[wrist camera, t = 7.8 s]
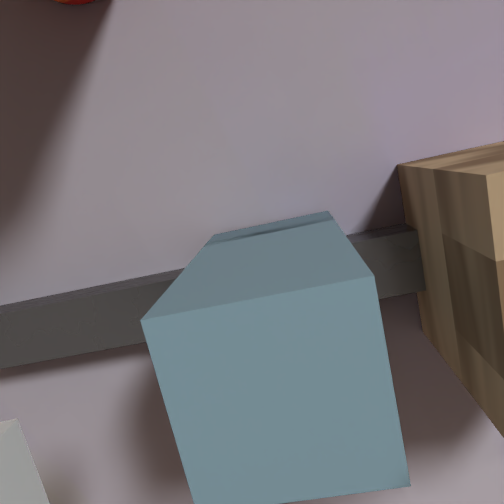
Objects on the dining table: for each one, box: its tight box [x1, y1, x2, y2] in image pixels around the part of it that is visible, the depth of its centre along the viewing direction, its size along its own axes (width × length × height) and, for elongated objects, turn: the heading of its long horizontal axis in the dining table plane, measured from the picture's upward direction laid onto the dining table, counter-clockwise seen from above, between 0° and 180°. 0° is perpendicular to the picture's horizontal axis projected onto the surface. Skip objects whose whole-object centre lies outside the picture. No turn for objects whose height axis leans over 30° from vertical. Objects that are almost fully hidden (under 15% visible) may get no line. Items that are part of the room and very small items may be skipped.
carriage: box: [140, 211, 411, 504], centre depth 17 cm, size 6×6×12 cm
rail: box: [0, 223, 426, 369], centre depth 23 cm, size 24×3×2 cm, turn 103°
